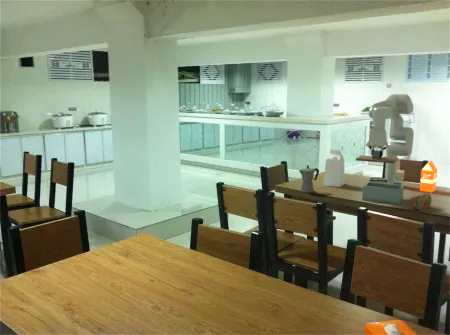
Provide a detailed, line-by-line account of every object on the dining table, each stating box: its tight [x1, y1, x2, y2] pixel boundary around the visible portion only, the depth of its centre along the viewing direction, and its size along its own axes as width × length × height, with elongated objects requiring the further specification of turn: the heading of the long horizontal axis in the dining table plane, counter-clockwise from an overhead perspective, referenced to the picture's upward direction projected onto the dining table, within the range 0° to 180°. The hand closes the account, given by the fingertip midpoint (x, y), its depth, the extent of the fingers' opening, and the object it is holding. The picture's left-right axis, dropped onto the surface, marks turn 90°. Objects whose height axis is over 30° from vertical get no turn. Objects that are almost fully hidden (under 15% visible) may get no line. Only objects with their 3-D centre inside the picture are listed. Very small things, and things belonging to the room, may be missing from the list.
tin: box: [413, 193, 432, 211], centre depth 244 cm, size 15×3×8 cm, turn 126°
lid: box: [355, 149, 399, 164], centre depth 262 cm, size 14×23×6 cm, turn 60°
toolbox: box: [361, 181, 405, 205], centre depth 266 cm, size 18×22×10 cm
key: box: [395, 169, 405, 182], centre depth 273 cm, size 8×4×6 cm, turn 149°
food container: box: [368, 176, 388, 184], centre depth 282 cm, size 12×6×10 cm, turn 84°
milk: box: [323, 148, 345, 188], centre depth 304 cm, size 12×12×26 cm
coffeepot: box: [298, 165, 320, 194], centre depth 287 cm, size 15×9×18 cm, turn 107°
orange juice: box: [419, 161, 438, 193], centre depth 286 cm, size 8×9×20 cm
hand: (376, 156), depth 262 cm, fingers closed on lid, 4 cm apart
